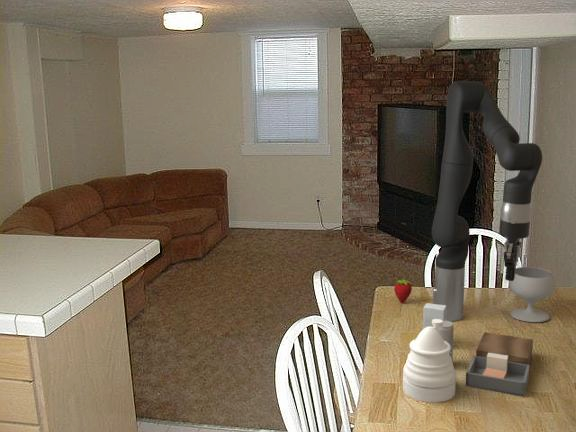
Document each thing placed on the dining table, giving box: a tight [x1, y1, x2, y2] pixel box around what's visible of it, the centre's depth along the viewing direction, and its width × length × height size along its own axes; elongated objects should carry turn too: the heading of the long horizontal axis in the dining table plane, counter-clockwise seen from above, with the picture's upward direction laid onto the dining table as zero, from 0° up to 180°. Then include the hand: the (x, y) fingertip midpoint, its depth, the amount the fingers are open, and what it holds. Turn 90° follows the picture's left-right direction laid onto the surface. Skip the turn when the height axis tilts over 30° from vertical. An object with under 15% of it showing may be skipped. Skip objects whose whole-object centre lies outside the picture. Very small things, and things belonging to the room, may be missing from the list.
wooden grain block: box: [475, 331, 534, 366], centre depth 169 cm, size 13×13×5 cm
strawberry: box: [393, 276, 413, 304], centre depth 215 cm, size 6×8×10 cm
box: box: [465, 355, 531, 398], centre depth 159 cm, size 14×11×4 cm
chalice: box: [508, 266, 556, 323], centre depth 200 cm, size 14×14×15 cm
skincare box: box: [422, 302, 447, 330], centre depth 180 cm, size 6×4×12 cm
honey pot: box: [402, 319, 457, 403], centre depth 154 cm, size 13×13×18 cm
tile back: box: [486, 353, 508, 376], centre depth 162 cm, size 5×5×2 cm
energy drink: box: [433, 320, 454, 363], centre depth 168 cm, size 5×5×12 cm
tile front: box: [483, 368, 507, 379], centre depth 157 cm, size 5×5×2 cm
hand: (509, 279), depth 169 cm, fingers closed
